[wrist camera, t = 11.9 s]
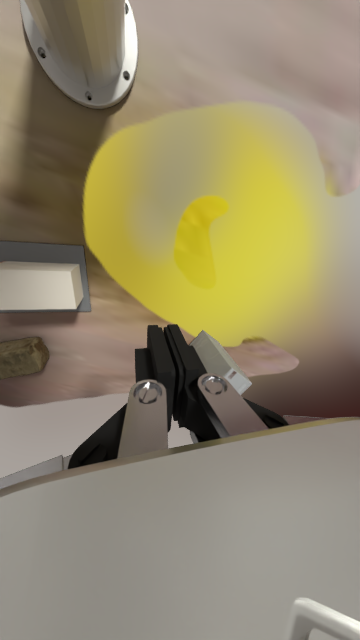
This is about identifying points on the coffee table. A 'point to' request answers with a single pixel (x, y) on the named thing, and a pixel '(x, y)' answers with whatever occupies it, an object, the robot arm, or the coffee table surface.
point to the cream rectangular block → (39, 285)
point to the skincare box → (219, 361)
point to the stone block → (22, 357)
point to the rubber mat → (48, 255)
